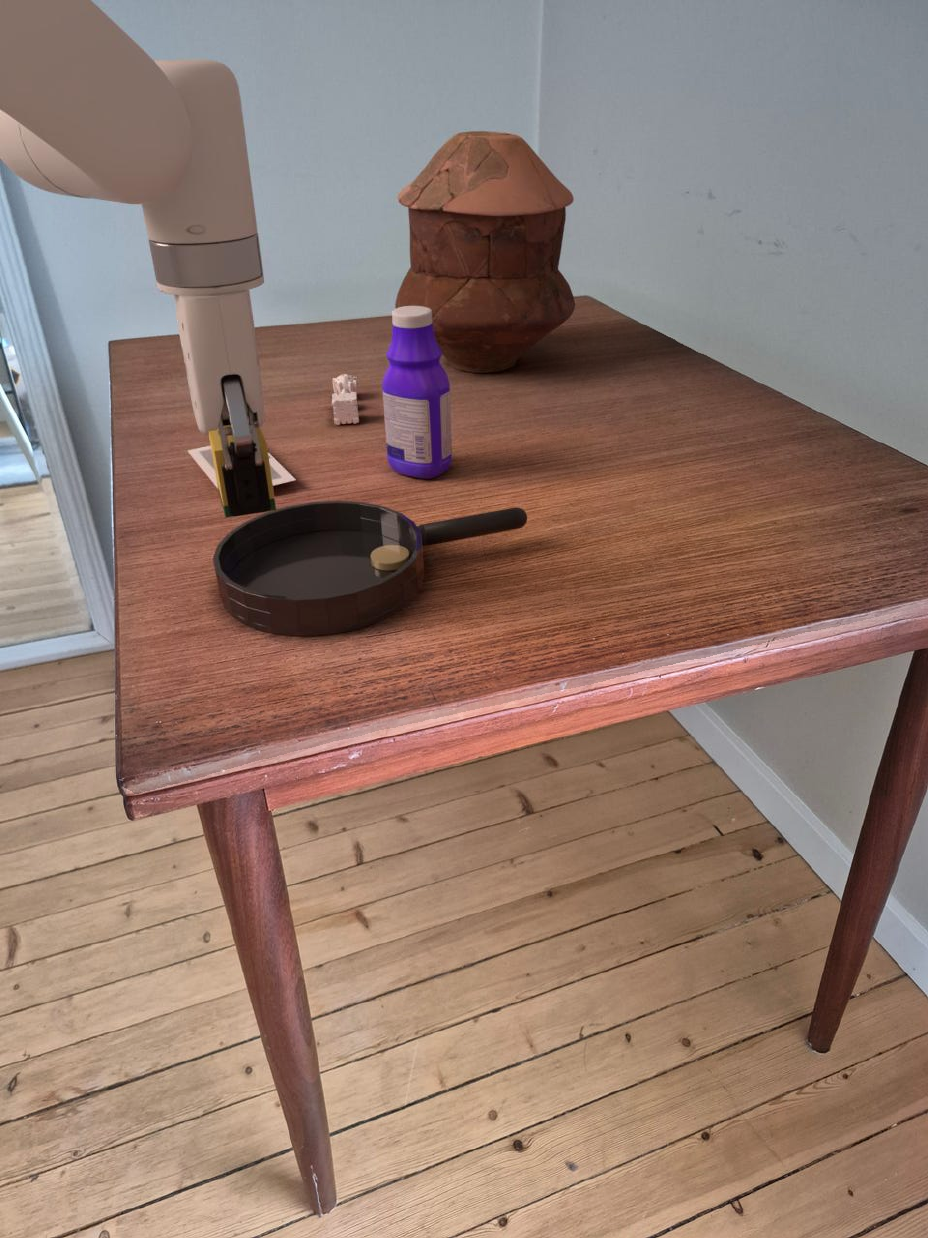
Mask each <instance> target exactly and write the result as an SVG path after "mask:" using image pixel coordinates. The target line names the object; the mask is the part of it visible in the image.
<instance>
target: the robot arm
mask: <svg viewBox="0 0 928 1238" xmlns="http://www.w3.org/2000/svg"><path fill="white" fill-rule="evenodd" d="M0 160H1V161H2V162H3V163H4V165H5V166H6V167H7V168H8V169H9V170H10V171H11V172H12V173H13V174H15V175H16V176H17V177H18V178H20V179H21V180H23V181H24V182H26V183H28V184H30V185H31V186H33V187H35V188H38V189H39V190H42V191H44V192H47V193H52V194H54V195H55V194H56V195H61V196H67V197H74V198H81V199H93V200H99V201H100V200H101V201H105V202H106V201H107V202H114V203H118V204H119V203H120V204H127V205H141V207H142V213H143V218H144V223H145V228H146V234H147V239H148V244H149V251H150V255H151V260H152V261H151V262H152V266H153V271H154V276H155V281H156V287H157V290H158V291H159V292H160V293H164V294H168V295H172V296H174V297H173V299H174V306H175V316H176V323H177V328H178V335H179V339H180V346H181V347H180V348H181V352H182V356H183V357H182V358H183V363H184V368H185V373H186V378H187V383H188V384H187V385H188V389H189V395H190V401H191V406H192V410H193V414H194V418H195V422H196V426H197V428H198V431H199V432H201V434H203V435H205V436H209V431H214V430H217V428H218V434H219V436H220V441H221V447H222V452H223V458H224V463H225V467H222V472H223V478H224V484H225V490H226V496H227V501H228V507H229V512H230V514H231V515H232V516H233V517H240V516H242V517H243V516H247V515H254V514H261V513H267V512H270V511H269V510H270V508H271V505H270V498H269V491H268V484H267V477H266V470H265V463H264V461H262V458H261V452H260V447H259V441H258V435H257V428H260V429H261V427H262V426H263V425H264V423H265V421H266V417H265V404H264V393H263V383H262V374H261V365H260V357H259V349H258V342H257V334H256V328H255V320H254V319H255V318H254V315H253V314H254V313H253V306H252V299H251V294H250V290H252V289H256V288H258V287H260V286H262V285H263V284H264V283H265V276H264V268H263V260H262V259H263V258H262V252H261V245H260V236H259V233H258V232H259V231H258V223H257V216H256V215H257V214H256V208H255V202H254V200H255V199H254V192H253V186H252V177H251V168H250V162H249V154H248V146H247V137H246V131H245V121H244V115H243V107H242V98H241V92H240V88H239V84H238V80H237V78H236V76H235V73H234V72H233V71H232V70H231V69H230V67H228V66H227V65H226V64H225V63H222V62H221V61H218V60H213V59H212V60H211V59H157V60H155V59H153V58H152V57H151V56H150V55H149V54H148V53H147V52H146V51H145V50H144V48H142V47H141V46H140V45H139V44H138V43H137V42H136V41H135V40H134V39H133V38H131V37H130V36H129V34H128V33H126V32H125V31H124V30H123V29H122V28H121V27H120V26H119V25H118V24H117V23H116V22H115V21H114V20H113V19H112V18H110V17H109V15H107V14H106V13H105V12H104V11H103V10H102V9H101V7H99V6H98V4H96V3H95V2H94V1H92V0H0ZM249 424H250V425H249ZM225 425H231V427H226V428H224V427H223V426H225ZM256 426H257V427H256ZM229 435H232V436H233V442H230V444H229V443H228V438H227V436H229ZM229 445H230V446H229Z"/></svg>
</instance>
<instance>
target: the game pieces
mask: <svg viewBox="0 0 928 1238" xmlns="http://www.w3.org/2000/svg"><path fill="white" fill-rule="evenodd" d="M332 389H333V392H334V393H332V394H331V398H332V399H331V406H332V412H333V424H334V425H337V426H340V425H341V424H342V425H347V424H355V425H356V424H358V423H360V419H359V418H360V417H359V415H360V414H359V413H360V412H359V410H358V409H359V406H358V394H357V393H358V377H357V376H353V375H352V374H350V375H349V374H347V373H342V374H340V375H338V376H337V377H333V378H332Z"/></svg>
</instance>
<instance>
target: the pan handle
mask: <svg viewBox="0 0 928 1238" xmlns="http://www.w3.org/2000/svg"><path fill="white" fill-rule="evenodd" d="M527 521H528V514H527V512H526V511H525V510H524V509H523V508H521V507H517V506H516V507H510V508H504V509H499V510H493V511H488V512H483V513H477V514H472V515H466V516H460V517H455V518H449V519H444V520H439V521H433V522H427V523H421V524H418V525H416V526H417V527H418V529H419V530H420V532H421V533H422V546H423V547H429V546H435V545H440V544H445V543H450V542H456V541H462V540H466V539H471V538H476V537H482V536H483V537H484V536H487V535H494V534H497V533H505V532H509V531H513V530H514V531H515V530H519V529H522V528H523V527H525V525H526V524H527V523H528V522H527Z"/></svg>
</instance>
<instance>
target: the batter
mask: <svg viewBox="0 0 928 1238" xmlns="http://www.w3.org/2000/svg"><path fill="white" fill-rule="evenodd" d="M409 559H410V555H409V551H408V550H407V549H406V548H405V547H402V546H398V545H386V546H382V547H379V548H377V549H375V550H374V551H373V552H372V553H371V564H372V565H373V567H375V568H376V569H379V570H384V571H393V570H398V569H399V568H401V567H402V566H403V565H404V564H405V563H406V562H407V561H408V560H409Z"/></svg>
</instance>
